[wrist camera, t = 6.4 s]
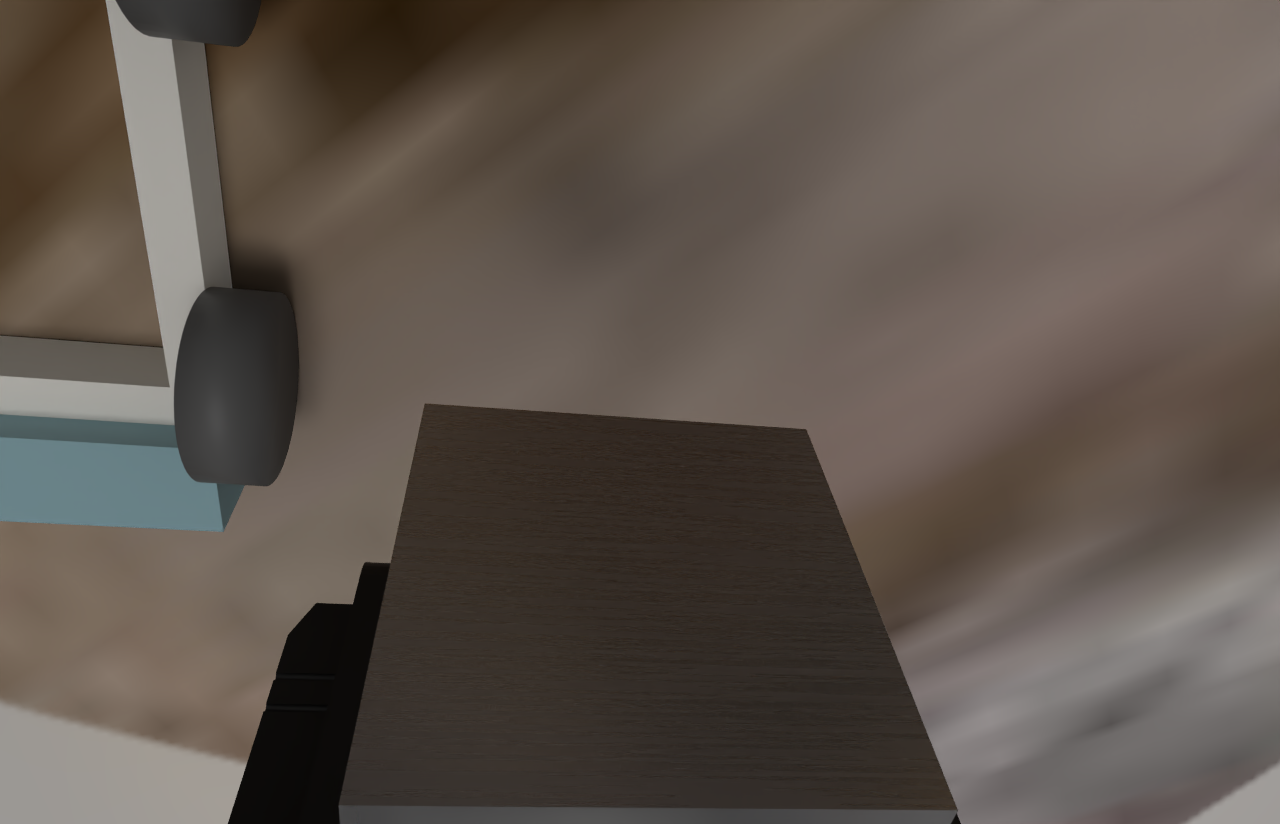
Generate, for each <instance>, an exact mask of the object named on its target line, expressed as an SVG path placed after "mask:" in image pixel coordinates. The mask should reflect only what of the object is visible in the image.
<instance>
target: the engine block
mask: <svg viewBox="0 0 1280 824" xmlns="http://www.w3.org/2000/svg"><path fill="white" fill-rule="evenodd" d="M957 811H958V809H957V807H956V804H955V802H954V799H953V797H952V794H951V792H950V789H949V787H948V784H947V782H946V779H945V777H944V774H943V772H942V769H941V766H940V764H939V761H938V759H937V756H936V754H935V751H934V749H933V746H932V744H931V741H930V739H929V736H928V734H927V731H926V729H925V726H924V724H923V721H922V719H921V716H920V714H919V711H918V709H917V706H916V704H915V701H914V699H913V696H912V694H911V691H910V689H909V686H908V684H907V681H906V679H905V676H904V674H903V671H902V669H901V666H900V664H899V661H898V659H897V656H896V654H895V651H894V648H893V646H892V643H891V641H890V638H889V636H888V633H887V631H886V628H885V626H884V623H883V621H882V618H881V616H880V613H879V611H878V608H877V606H876V603H875V601H874V598H873V596H872V593H871V591H870V588H869V586H868V583H867V581H866V578H865V576H864V573H863V571H862V568H861V566H860V563H859V561H858V558H857V556H856V553H855V551H854V548H853V546H852V543H851V541H850V538H849V536H848V533H847V530H846V528H845V525H844V523H843V520H842V518H841V515H840V513H839V510H838V508H837V505H836V503H835V500H834V498H833V495H832V493H831V490H830V488H829V485H828V483H827V480H826V478H825V475H824V473H823V470H822V468H821V465H820V463H819V460H818V458H817V455H816V453H815V450H814V448H813V445H812V443H811V440H810V438H809V435H808V433H807V430H806V429H794V428H779V427H764V426H750V425H735V424H720V423H705V422H690V421H676V420H661V419H646V418H631V417H616V416H602V415H587V414H572V413H557V412H542V411H528V410H513V409H498V408H483V407H468V406H454V405H439V404H425V405H424V410H423V415H422V419H421V424H420V429H419V433H418V438H417V443H416V447H415V452H414V457H413V461H412V466H411V470H410V475H409V480H408V484H407V489H406V494H405V498H404V503H403V508H402V512H401V517H400V522H399V526H398V531H397V536H396V540H395V545H394V550H393V554H392V559H391V564H390V568H389V573H388V578H387V582H386V587H385V592H384V596H383V601H382V606H381V610H380V615H379V620H378V624H377V629H376V634H375V638H374V643H373V647H372V652H371V657H370V661H369V666H368V671H367V675H366V680H365V685H364V689H363V694H362V699H361V703H360V708H359V713H358V717H357V722H356V727H355V731H354V736H353V741H352V745H351V750H350V755H349V759H348V764H347V769H346V773H345V778H344V783H343V787H342V792H341V797H340V801H339V817H340V824H951V822H952V820H953V819H954V817H955V815H956V813H957Z"/></svg>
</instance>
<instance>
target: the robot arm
mask: <svg viewBox="0 0 1280 824" xmlns="http://www.w3.org/2000/svg"><path fill="white" fill-rule="evenodd" d="M390 564H391V563H371V562H365V563H364V565H363V568H362V571H361V575H360V579H359V583H358V586H357V590H356V594H355V598H354V602H353V604H326V603H316V604H315V605H314V606H313V607H312V608H311V610H310V611H309V612H308V613H307V614H306V615H305V616H304V618H303V619H302V620H301V621H300V622H299V623H298V624H297V625H296V627H295V628H294V629H293V630H292V631H291V632H290V633H289V634H288V637H287V640H286V643H285V646H284V649H283V653H282V656H281V659H280V662H279V665H278V668H277V671H276V679H275V680H274V681H273V684H272V687H271V690H270V693H269V696H268V699H267V703H266V710H265V711H264V712H263V715H262V718H261V721H260V725H259V728H258V731H257V734H256V737H255V740H254V743H253V746H252V750H251V753H250V756H249V759H248V762H247V765H246V768H245V772H244V775H243V778H242V781H241V784H240V787H239V791H238V794H237V797H236V800H235V803H234V806H233V809H232V813H231V815H230V819H229V822H228V824H340V817H339V801H340V797H341V792H342V787H343V783H344V778H345V773H346V769H347V764H348V759H349V755H350V750H351V745H352V741H353V736H354V731H355V727H356V722H357V717H358V713H359V708H360V703H361V699H362V694H363V689H364V685H365V680H366V675H367V671H368V666H369V661H370V657H371V652H372V647H373V643H374V638H375V634H376V629H377V624H378V620H379V615H380V610H381V606H382V601H383V596H384V592H385V587H386V582H387V578H388V573H389V568H390ZM951 824H961V823H960V821H959V818H958V816H957V813H956V815H955V817H954V819H953V820H952V822H951Z"/></svg>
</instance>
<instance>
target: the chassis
mask: <svg viewBox="0 0 1280 824" xmlns="http://www.w3.org/2000/svg"><path fill="white" fill-rule="evenodd" d="M260 4H261V0H106V5H107V11H108V17H109V23H110V29H111V35H112V41H113V47H114V53H115V59H116V65H117V72H118V78H119V84H120V90H121V96H122V102H123V108H124V114H125V120H126V126H127V132H128V138H129V144H130V150H131V156H132V162H133V168H134V174H135V180H136V186H137V192H138V198H139V204H140V210H141V216H142V222H143V228H144V234H145V240H146V246H147V252H148V258H149V264H150V270H151V276H152V282H153V288H154V294H155V300H156V306H157V313H158V319H159V325H160V331H161V337H162V343H163V348H160V347H147V346H133V345H120V344H107V343H93V342H80V341H67V340H53V339H40V338H27V337H13V336H0V521H13V522H33V523H54V524H74V525H95V526H115V527H136V528H156V529H177V530H198V531H218V532H224V529H225V527H226V525H227V523H228V521H229V518H230V516H231V514H232V512H233V510H234V508H235V505H236V503H237V501H238V499H239V497H240V494H241V492H242V490H243V488H244V486H245V485H255V486H269V485H271V484H272V483H273V482H274V481H275V480H276V478H277V477H278V475H279V473H280V471H281V469H282V467H283V464H284V461H285V459H286V455H287V452H288V449H289V445H290V441H291V436H292V431H293V425H294V419H295V412H296V403H297V392H298V369H299V360H298V340H297V330H296V323H295V319H294V314H293V310H292V307H291V305H290V302H289V300H288V298H287V297H286V296H285V295H284V294H283V293H281V292H270V291H258V290H246V289H234V288H232V281H231V272H230V263H229V254H228V246H227V237H226V228H225V220H224V211H223V202H222V194H221V185H220V176H219V167H218V159H217V150H216V141H215V133H214V124H213V115H212V106H211V98H210V89H209V80H208V72H207V63H206V54H205V46H204V43H208V44H216V45H225V46H233V47H239V46H241V45H243V44H244V43H245V42H246V41H247V40H248V38H249V36H250V35H251V33H252V31H253V28H254V26H255V23H256V20H257V17H258V13H259V9H260Z"/></svg>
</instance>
